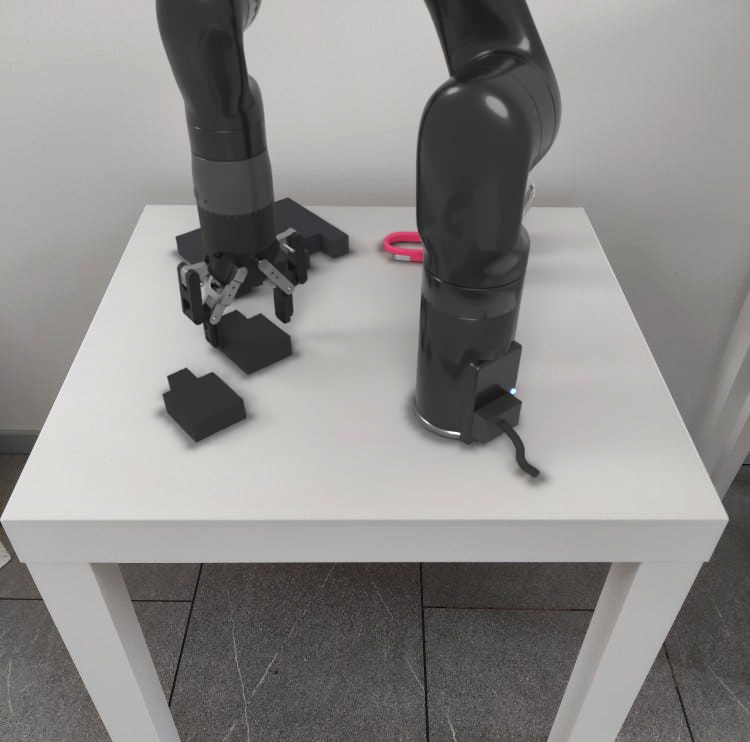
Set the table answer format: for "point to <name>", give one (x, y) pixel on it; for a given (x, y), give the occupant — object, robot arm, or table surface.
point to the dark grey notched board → (287, 214)
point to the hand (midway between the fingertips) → (251, 333)
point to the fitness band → (401, 252)
